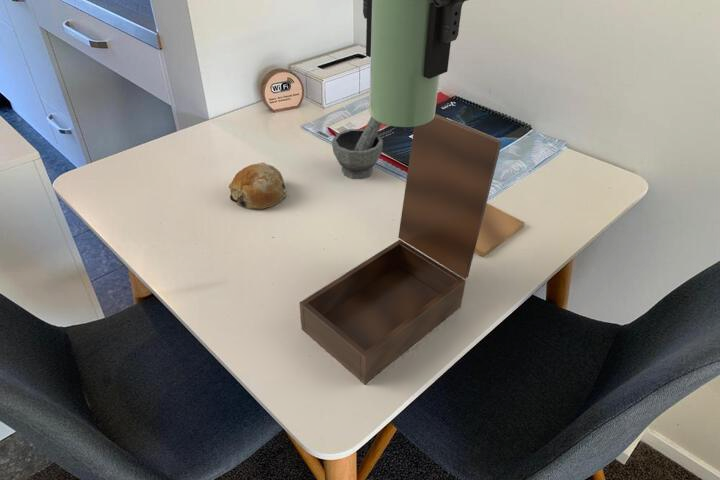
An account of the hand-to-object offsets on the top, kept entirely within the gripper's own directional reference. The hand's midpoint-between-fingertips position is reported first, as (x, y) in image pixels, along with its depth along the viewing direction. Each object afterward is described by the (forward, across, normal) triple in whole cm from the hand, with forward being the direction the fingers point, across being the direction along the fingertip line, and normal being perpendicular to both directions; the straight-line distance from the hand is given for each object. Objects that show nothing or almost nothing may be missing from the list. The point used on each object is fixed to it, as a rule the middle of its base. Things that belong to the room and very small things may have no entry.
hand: (405, 63), depth 52 cm
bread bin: (+36, 0, +1) cm, 36 cm away
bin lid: (+20, 0, -9) cm, 22 cm away
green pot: (+5, 0, 0) cm, 5 cm away
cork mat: (+36, +4, -26) cm, 45 cm away
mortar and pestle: (+36, +31, -25) cm, 54 cm away
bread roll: (+36, +37, -4) cm, 52 cm away
